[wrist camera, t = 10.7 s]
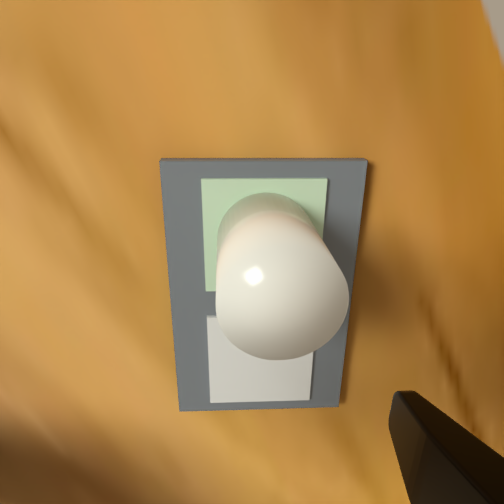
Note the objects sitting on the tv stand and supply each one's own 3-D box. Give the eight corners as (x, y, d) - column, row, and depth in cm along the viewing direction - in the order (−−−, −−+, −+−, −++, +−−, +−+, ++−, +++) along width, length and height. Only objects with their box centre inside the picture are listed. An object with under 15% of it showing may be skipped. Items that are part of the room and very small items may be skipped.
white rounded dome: (312, 277, 20) (346, 354, 15) (221, 285, 20) (221, 365, 14) (312, 188, 18) (351, 238, 13) (212, 196, 18) (209, 249, 13)
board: (335, 399, 24) (339, 409, 24) (180, 403, 24) (179, 414, 23) (363, 158, 19) (369, 161, 18) (161, 158, 18) (158, 162, 18)
